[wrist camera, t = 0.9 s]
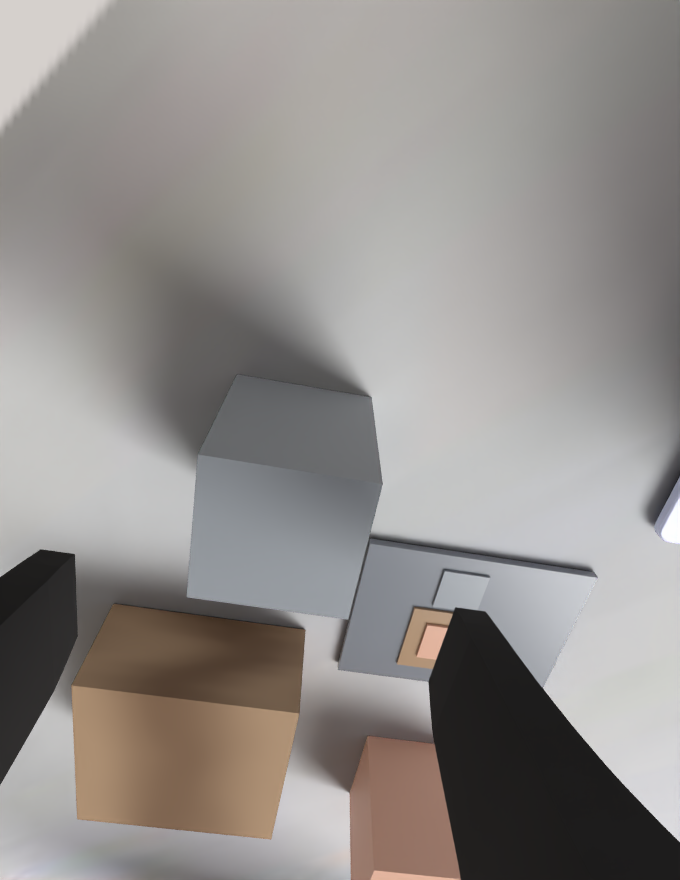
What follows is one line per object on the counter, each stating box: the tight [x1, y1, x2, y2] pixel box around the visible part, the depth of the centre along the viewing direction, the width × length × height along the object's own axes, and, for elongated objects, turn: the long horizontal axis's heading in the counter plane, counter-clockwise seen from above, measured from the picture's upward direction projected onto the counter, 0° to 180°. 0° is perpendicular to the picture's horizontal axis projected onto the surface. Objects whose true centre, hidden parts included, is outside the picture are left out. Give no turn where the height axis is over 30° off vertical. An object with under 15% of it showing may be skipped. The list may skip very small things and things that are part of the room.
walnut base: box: [71, 604, 305, 839], centre depth 20 cm, size 7×7×4 cm
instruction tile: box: [338, 538, 598, 688], centre depth 20 cm, size 8×6×1 cm
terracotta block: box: [350, 736, 461, 880], centre depth 22 cm, size 4×4×5 cm
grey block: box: [187, 374, 383, 620], centre depth 15 cm, size 4×4×5 cm
